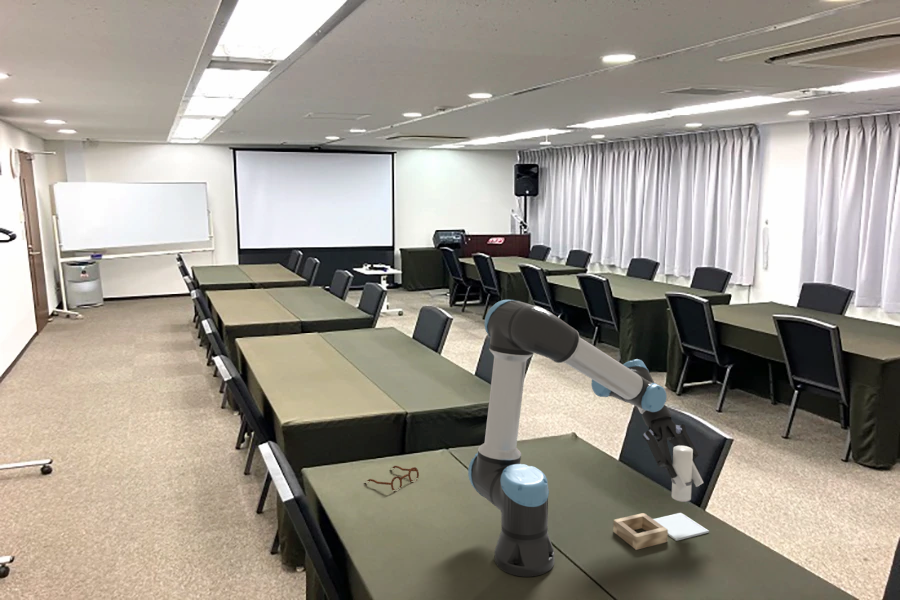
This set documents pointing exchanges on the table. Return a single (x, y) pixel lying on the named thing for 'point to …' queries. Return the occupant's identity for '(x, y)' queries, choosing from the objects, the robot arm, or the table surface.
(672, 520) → the pad
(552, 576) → the table surface
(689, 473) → the white banded cylinder
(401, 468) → the glasses
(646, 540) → the collar
